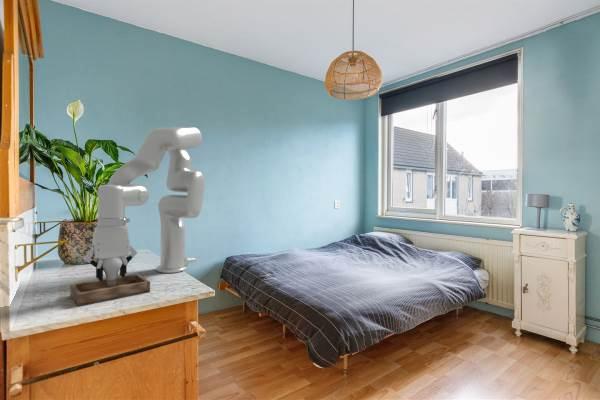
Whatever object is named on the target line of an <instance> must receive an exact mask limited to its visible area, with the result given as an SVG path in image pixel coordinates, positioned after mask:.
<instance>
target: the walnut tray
mask: <svg viewBox="0 0 600 400" xmlns="http://www.w3.org/2000/svg"><path fill="white" fill-rule="evenodd" d="M69 287H70V289H69V290H70V291H69V295H70V298H71V299H72V300H73V302H74V303H75V305H76V306H77V307H81V306H87V305H91V304H97V303H101V302H106V301H108V302H109V301H112V300H116V299H122V298H126V297H131V296H136V295H141V294H146V293H150V292H151V281H150V280H149V279H147V278H145V277H144V276H142V275H141V274H140V273H134V274H128V275H127V274H126V275H125V277H121V276H117V279H116V285H114V286H113V287H110V286H108V285H107V279H106V278H103V280H102V281H99V280H98V279H97V280H91V281H84V282H77V283H71V284H69Z"/></svg>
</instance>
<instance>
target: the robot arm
mask: <svg viewBox="0 0 600 400" xmlns="http://www.w3.org/2000/svg"><path fill="white" fill-rule="evenodd" d="M202 140H203V135H202V132H201V131H200V129H198V128H197V127H195V126H177V127H175V126H174V127H173V126H171V127H158V128H157V127H156V128H153V129H151V130H149V132H148V133H147V135H146V137H145V138H144V140H143V142H142V144H141V146H140V148H139V149H138V151H137V153H136V154H135V156H134V157H133V158H132V159H130V160H129V161H127V162H125V163H124V164H123V165H122V166H120V167H119V168H118V169H117V170H115V172H114V173H113V174H112V175H111V177H110V178H109V181H108V182H107V184H101V185H99V187H98V188H97V226H96V227H94V231H93V235H92V245H91V246H92V247H91V249H90V250H89V251H88V252H87V254H86V255H85V256H84V257H83V260H84V261H85V262H88V263H89V264H90V265H91V266H93V267H94V268H95V278H96V279H97V280H99V281H102V280H103V279H104V271H103V268H102V263H103V261H104V259H108V258H111V257H121V258H122V261H123V263H122V266H121V268H120V269H119V277H125V276H126V275H127V270H128V269H127V267H128V266H127V265H128V264H129V263H130V262H131V260H132V259H133V258H134V257H135V256H136V255H137V254H138V251H137V250H136V249H134V248H133V247H132V246H131V242H130V235H129V229H128V226H127V225H126V224H128V223H130V222H131V219H130V218H127V217H126V207H141V206H143V205H144V204H146V203H147V202H148V200H149V197H150V194H149V191H148V189H147V188H146V187H144V186H143V185H140V184H133V183H132V182H133V181H134V180H136V179H138V178H140V177H143V176H145V175H147V174H150V173H152V172H155V171H156V170H158V169H159V168H160V165H161V163H162V161H163V159H164V157H165V154H166V153H167V152H168V155H169V164H168V171H167V176H166V183H165V185H166V188H167V189H168V191H171V192H173V193H174V192H175V193H187V194H186V195H185V194H166V195H163V196H162V197H161V198H160V199H159V200H158V205H157V209H158V212H159V213H158V214H159V220H160V252H159V253H160V256H159V257H160V261H159V262H160V264H159V265H157V266H156V267H155V271H156V272H158V273H162V274H165V273H166V274H169V273H170V274H172V273H180V272H184V271H187V270H188V269H189V265H188V264H189V263H195V262H196V257H192V258H191V257H185V248H186V247H185V245H186V243H185V242H186V226H185V223H184V221H183V220H182V219H195V218H198V217H199V216H200V214H201V212H202V207H203V201H204V196H205V195H204V193H205V189H206V182H205V177H204V175H203V173H202V172H201V171H199V170H191V164H192V162H191V161H192V160H191V157H190V154H189V153H188V152H187V150H191V149H196V148H198V147H199V146H200V145H201V144H202ZM92 257H93V258H94V259H96V261H95V260H94V259H92Z"/></svg>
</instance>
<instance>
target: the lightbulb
mask: <svg viewBox="0 0 600 400" xmlns="http://www.w3.org/2000/svg"><path fill="white" fill-rule="evenodd" d="M122 263H123V261H122V258H121V257H111V258H108V259H104V261H103V263H102V268H103V273H104V274H105V279H107V285H108V286H110V287H113V286H114V285H116V279H117V277H118V275H119V273H120V268H121V266H122Z"/></svg>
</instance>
